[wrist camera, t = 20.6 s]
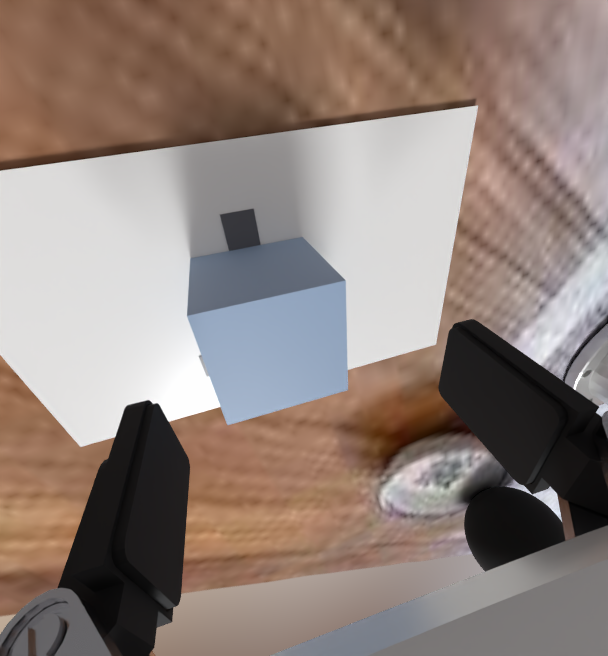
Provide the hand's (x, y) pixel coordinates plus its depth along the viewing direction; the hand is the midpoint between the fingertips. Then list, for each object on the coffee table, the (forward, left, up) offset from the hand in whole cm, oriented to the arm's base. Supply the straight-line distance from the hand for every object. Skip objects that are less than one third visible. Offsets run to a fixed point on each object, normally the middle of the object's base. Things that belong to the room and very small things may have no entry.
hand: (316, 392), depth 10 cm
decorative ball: (-21, +34, -7) cm, 40 cm away
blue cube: (+1, 0, -7) cm, 7 cm away
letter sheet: (+1, 0, -7) cm, 7 cm away
